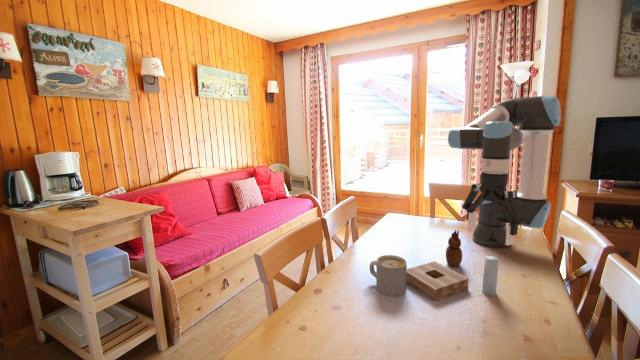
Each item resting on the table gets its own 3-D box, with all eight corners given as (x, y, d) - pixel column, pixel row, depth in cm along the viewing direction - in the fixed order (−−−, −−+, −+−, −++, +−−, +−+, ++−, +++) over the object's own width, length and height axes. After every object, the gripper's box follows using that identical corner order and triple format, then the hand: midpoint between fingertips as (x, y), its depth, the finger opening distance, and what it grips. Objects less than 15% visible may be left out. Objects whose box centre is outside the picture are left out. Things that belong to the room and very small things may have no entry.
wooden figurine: (463, 269, 120) (465, 231, 117) (447, 268, 121) (449, 231, 118) (459, 261, 126) (461, 226, 123) (444, 260, 127) (445, 225, 125)
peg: (487, 288, 106) (490, 255, 104) (498, 293, 102) (501, 259, 100) (479, 291, 104) (482, 257, 102) (490, 296, 101) (493, 262, 98)
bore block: (434, 271, 119) (434, 261, 118) (467, 289, 105) (468, 278, 105) (403, 280, 112) (403, 270, 112) (434, 301, 99) (435, 289, 98)
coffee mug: (412, 289, 106) (412, 262, 105) (392, 299, 101) (392, 270, 99) (382, 274, 117) (383, 249, 115) (363, 283, 111) (363, 256, 110)
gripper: (453, 168, 106) (450, 227, 110) (527, 179, 84) (519, 253, 88) (469, 166, 109) (465, 224, 113) (544, 176, 87) (536, 248, 91)
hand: (489, 237), depth 100 cm, fingers open, 13 cm apart
